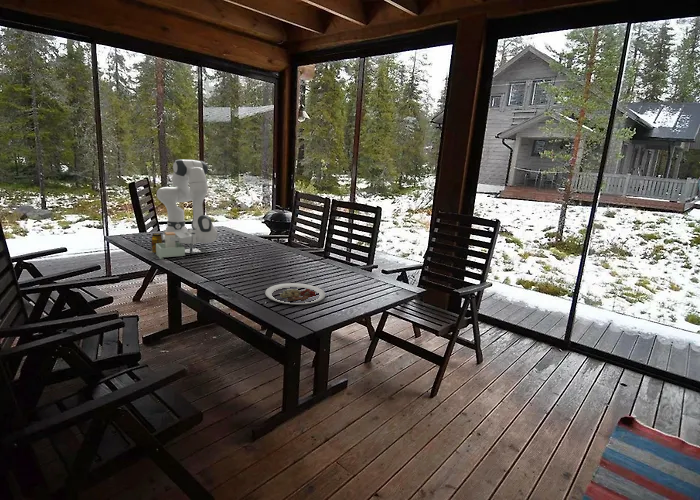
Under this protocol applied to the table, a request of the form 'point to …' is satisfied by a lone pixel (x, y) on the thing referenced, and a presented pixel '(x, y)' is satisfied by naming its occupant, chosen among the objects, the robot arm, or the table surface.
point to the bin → (169, 250)
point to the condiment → (155, 241)
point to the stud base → (192, 249)
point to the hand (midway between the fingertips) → (168, 237)
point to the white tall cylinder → (167, 240)
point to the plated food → (295, 292)
